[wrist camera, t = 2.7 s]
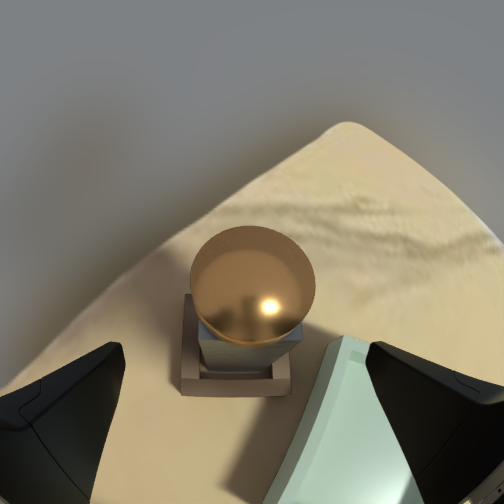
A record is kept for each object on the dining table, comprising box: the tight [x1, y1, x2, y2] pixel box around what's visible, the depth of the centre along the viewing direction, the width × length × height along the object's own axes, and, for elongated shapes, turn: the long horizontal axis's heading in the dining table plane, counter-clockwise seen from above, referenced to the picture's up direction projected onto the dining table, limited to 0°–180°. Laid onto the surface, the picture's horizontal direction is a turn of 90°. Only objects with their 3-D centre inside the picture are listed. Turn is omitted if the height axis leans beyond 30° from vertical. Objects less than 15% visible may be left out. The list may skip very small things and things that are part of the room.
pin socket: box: [181, 294, 291, 397], centre depth 18 cm, size 7×7×1 cm
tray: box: [262, 335, 424, 504], centre depth 14 cm, size 14×14×3 cm
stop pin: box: [190, 226, 316, 372], centre depth 13 cm, size 4×4×11 cm
